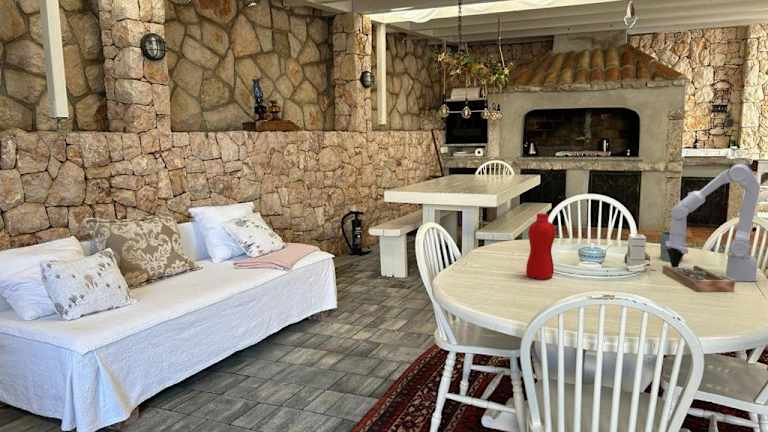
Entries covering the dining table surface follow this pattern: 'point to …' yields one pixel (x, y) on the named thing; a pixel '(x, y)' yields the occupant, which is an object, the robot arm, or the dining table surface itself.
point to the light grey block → (645, 257)
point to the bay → (702, 281)
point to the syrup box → (636, 249)
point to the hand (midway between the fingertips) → (674, 266)
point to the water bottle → (540, 248)
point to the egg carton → (692, 273)
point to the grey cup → (664, 253)
